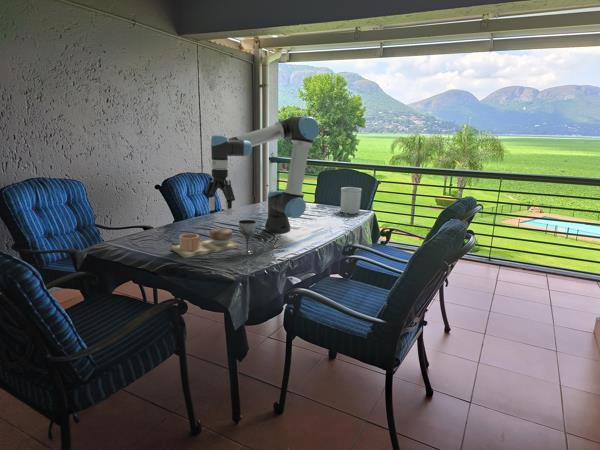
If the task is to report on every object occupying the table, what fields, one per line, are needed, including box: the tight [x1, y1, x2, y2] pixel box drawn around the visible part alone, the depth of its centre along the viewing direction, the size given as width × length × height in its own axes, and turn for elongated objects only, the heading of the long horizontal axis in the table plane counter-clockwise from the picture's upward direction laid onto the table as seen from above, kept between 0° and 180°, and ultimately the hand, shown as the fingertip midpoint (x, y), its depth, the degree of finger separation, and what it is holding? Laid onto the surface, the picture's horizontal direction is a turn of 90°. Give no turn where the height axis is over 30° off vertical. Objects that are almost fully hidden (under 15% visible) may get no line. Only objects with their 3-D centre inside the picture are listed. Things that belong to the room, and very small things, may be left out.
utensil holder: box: [340, 186, 363, 215], centre depth 276 cm, size 15×15×18 cm
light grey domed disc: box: [213, 239, 230, 245], centre depth 188 cm, size 8×8×3 cm
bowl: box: [178, 233, 200, 251], centre depth 178 cm, size 9×9×6 cm
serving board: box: [171, 239, 240, 259], centre depth 184 cm, size 28×15×2 cm, turn 130°
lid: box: [209, 227, 233, 240], centre depth 188 cm, size 11×11×3 cm
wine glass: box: [238, 219, 257, 256], centre depth 178 cm, size 8×8×15 cm
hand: (220, 212), depth 185 cm, fingers open, 13 cm apart
